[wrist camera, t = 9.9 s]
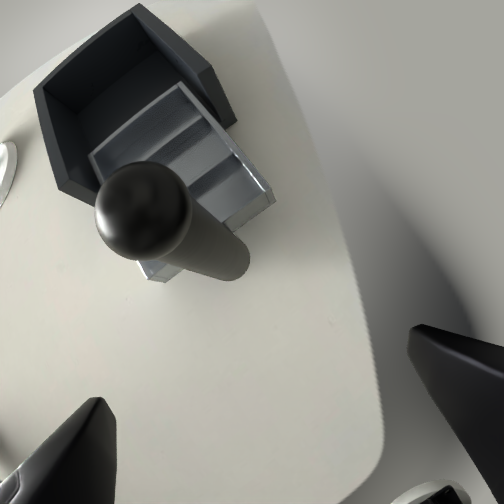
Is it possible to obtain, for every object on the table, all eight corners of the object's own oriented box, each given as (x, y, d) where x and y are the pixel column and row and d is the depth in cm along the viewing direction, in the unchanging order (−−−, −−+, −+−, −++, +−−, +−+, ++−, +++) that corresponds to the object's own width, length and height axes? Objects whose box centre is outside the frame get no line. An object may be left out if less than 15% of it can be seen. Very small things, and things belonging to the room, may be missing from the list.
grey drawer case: (237, 120, 21) (212, 65, 15) (113, 216, 21) (58, 190, 16) (167, 46, 24) (139, 2, 18) (73, 121, 24) (32, 90, 18)
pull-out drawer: (304, 237, 17) (284, 131, 7) (187, 320, 18) (40, 328, 7) (192, 98, 20) (118, -17, 10) (104, 167, 21) (-5, 92, 10)
